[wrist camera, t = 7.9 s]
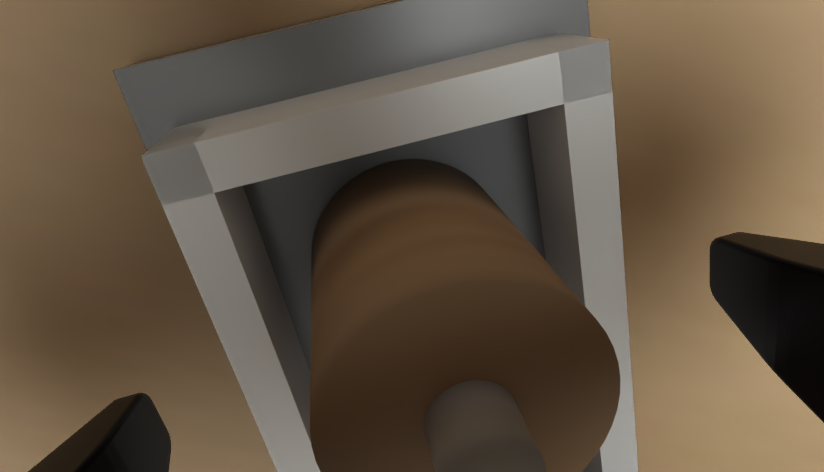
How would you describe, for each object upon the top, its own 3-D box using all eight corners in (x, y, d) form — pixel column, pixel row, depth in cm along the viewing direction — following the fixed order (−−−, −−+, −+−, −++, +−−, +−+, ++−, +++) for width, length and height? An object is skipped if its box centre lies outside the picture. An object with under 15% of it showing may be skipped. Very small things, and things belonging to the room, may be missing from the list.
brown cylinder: (513, 308, 13) (666, 549, 7) (339, 354, 12) (359, 640, 7) (489, 137, 11) (662, 281, 5) (286, 187, 11) (258, 388, 5)
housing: (615, 524, 17) (671, 622, 15) (352, 601, 17) (357, 717, 14) (561, -40, 11) (642, -53, 8) (131, 64, 10) (63, 87, 8)
